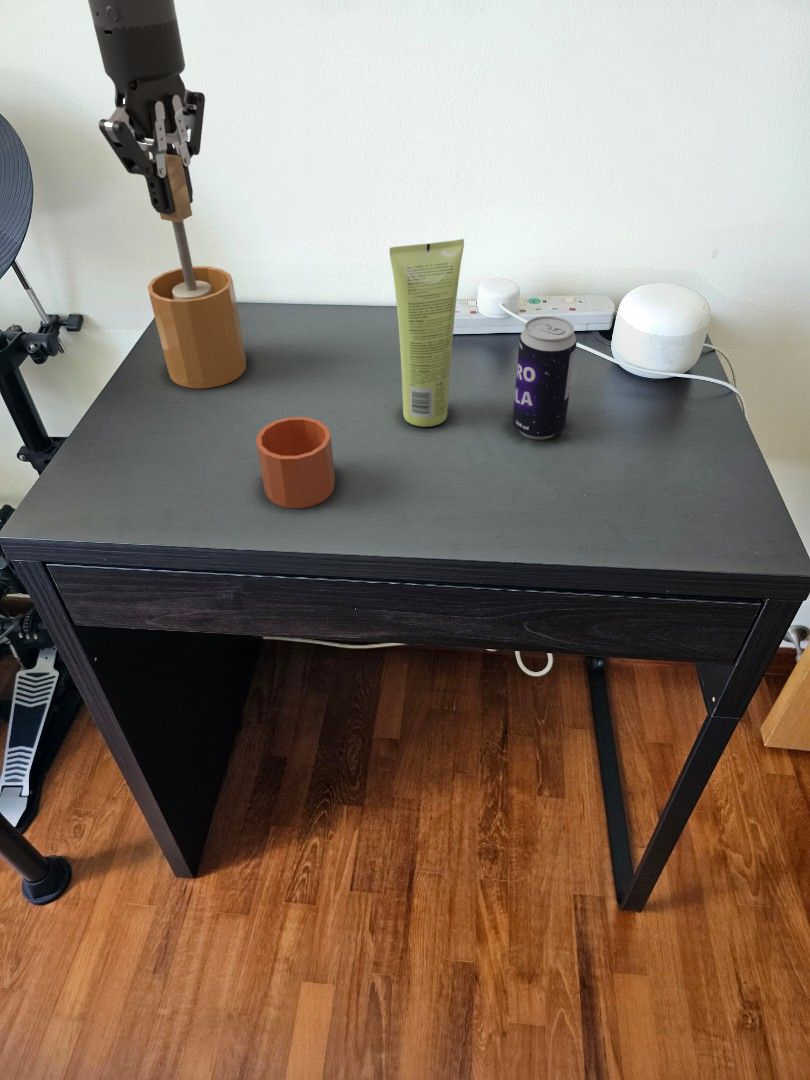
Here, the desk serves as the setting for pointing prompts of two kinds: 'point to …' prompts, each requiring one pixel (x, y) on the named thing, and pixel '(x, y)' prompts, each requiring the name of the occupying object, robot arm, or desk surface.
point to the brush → (182, 230)
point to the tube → (426, 325)
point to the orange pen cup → (199, 329)
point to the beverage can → (544, 376)
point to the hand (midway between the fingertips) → (174, 207)
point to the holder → (296, 462)
